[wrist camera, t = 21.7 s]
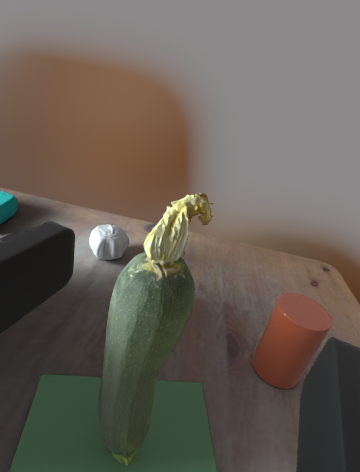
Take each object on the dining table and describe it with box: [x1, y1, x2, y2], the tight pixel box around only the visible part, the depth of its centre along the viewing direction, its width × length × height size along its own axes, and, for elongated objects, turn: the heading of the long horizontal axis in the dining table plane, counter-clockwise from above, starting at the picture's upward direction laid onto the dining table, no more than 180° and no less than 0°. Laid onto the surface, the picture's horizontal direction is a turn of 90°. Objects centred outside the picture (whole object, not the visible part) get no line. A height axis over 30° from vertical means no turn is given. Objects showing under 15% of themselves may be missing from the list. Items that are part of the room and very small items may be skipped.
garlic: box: [89, 224, 129, 260], centre depth 43 cm, size 6×5×5 cm
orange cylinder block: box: [251, 293, 332, 389], centre depth 31 cm, size 5×5×8 cm
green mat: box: [9, 374, 217, 472], centre depth 23 cm, size 14×10×1 cm
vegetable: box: [98, 193, 213, 466], centre depth 18 cm, size 4×4×20 cm
